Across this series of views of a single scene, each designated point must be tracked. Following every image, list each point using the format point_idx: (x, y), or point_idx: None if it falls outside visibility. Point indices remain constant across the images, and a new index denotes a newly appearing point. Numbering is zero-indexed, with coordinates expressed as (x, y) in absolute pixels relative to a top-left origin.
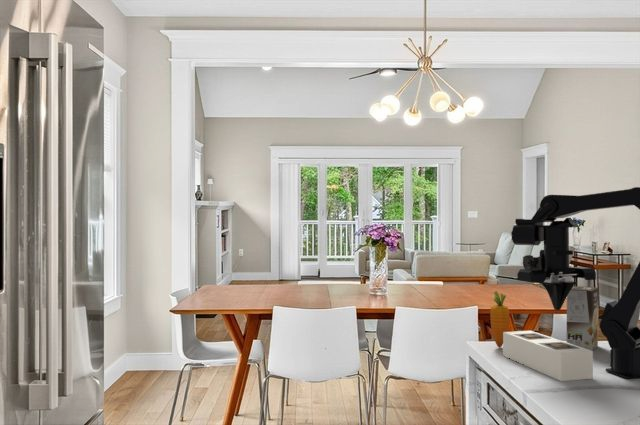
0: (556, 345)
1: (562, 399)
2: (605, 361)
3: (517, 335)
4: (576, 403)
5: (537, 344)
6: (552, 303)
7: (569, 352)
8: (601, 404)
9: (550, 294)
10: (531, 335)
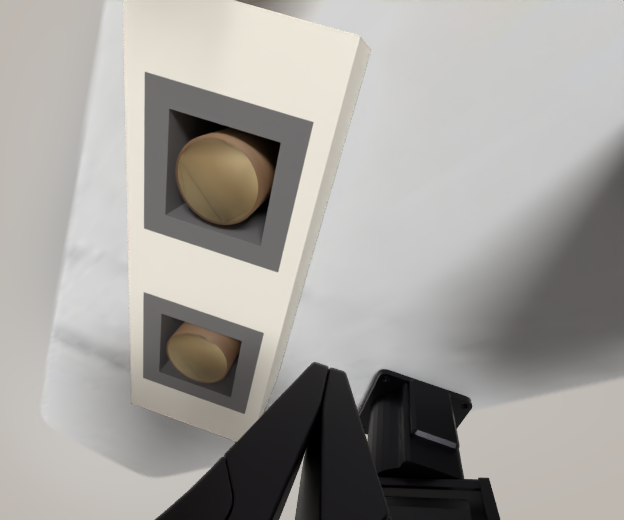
0: (188, 353)
1: (100, 393)
2: (535, 316)
3: (153, 119)
4: (112, 414)
5: (130, 302)
6: (281, 397)
7: (163, 413)
8: (151, 438)
9: (200, 504)
10: (228, 170)
